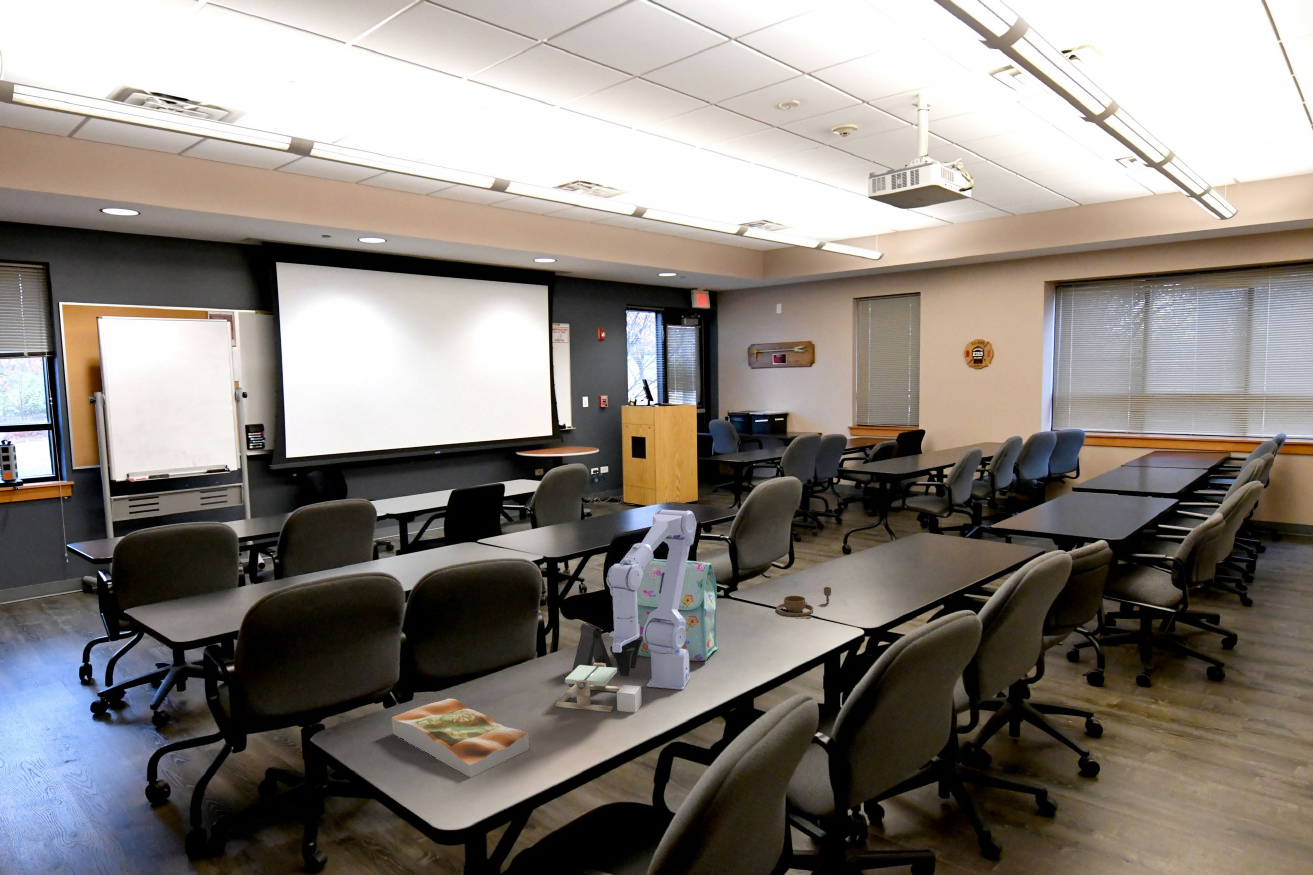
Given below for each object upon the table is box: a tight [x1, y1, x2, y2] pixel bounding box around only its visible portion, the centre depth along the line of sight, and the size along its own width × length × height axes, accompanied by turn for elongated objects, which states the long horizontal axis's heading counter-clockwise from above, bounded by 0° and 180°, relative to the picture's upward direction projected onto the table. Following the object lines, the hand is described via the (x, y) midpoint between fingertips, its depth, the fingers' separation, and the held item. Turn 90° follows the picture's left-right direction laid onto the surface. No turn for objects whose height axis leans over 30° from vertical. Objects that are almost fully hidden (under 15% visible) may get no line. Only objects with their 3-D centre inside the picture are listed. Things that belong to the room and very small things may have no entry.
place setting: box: [776, 586, 832, 620], centre depth 245 cm, size 18×20×6 cm
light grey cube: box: [616, 684, 642, 713], centre depth 176 cm, size 4×4×4 cm
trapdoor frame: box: [555, 662, 622, 713], centre depth 182 cm, size 14×14×7 cm
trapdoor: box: [564, 665, 618, 688], centre depth 182 cm, size 10×9×2 cm
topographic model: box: [391, 698, 530, 778], centre depth 162 cm, size 30×14×5 cm, turn 49°
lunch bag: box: [637, 558, 719, 662], centre depth 210 cm, size 23×16×27 cm
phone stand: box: [572, 622, 613, 671], centre depth 201 cm, size 9×6×12 cm, turn 128°
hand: (628, 671), depth 175 cm, fingers open, 4 cm apart
